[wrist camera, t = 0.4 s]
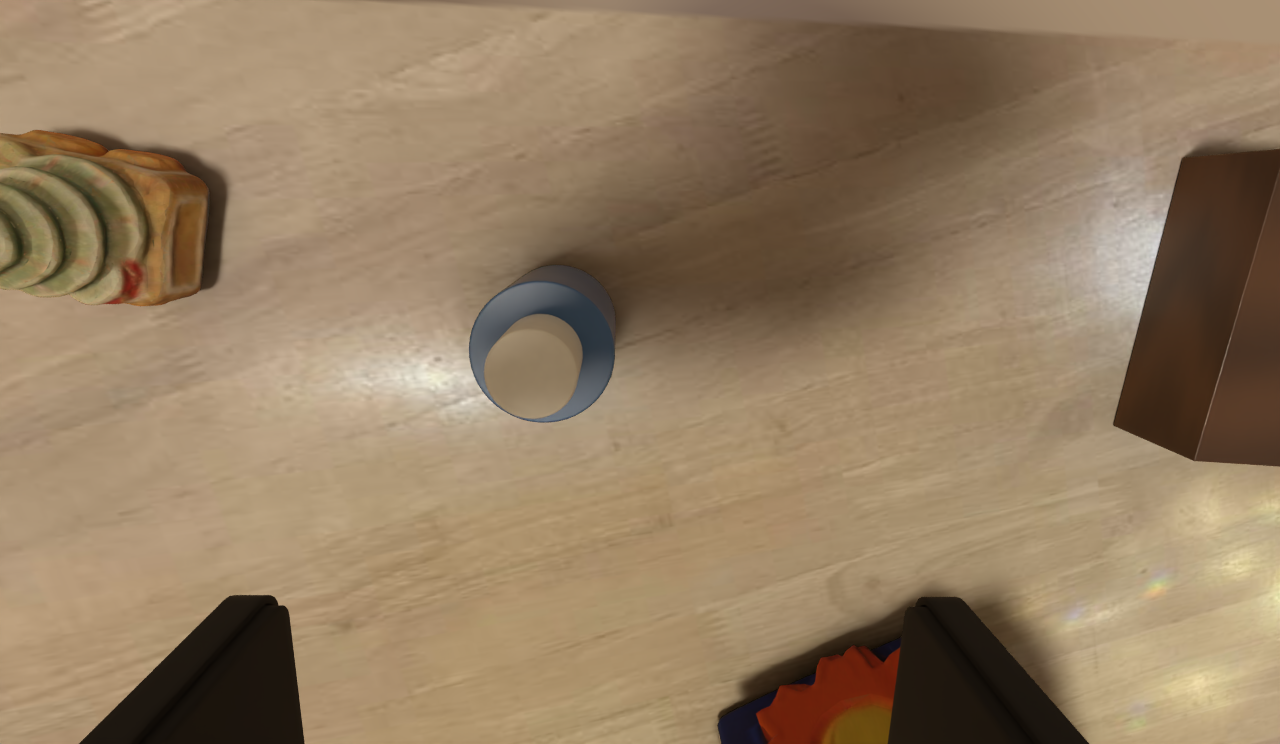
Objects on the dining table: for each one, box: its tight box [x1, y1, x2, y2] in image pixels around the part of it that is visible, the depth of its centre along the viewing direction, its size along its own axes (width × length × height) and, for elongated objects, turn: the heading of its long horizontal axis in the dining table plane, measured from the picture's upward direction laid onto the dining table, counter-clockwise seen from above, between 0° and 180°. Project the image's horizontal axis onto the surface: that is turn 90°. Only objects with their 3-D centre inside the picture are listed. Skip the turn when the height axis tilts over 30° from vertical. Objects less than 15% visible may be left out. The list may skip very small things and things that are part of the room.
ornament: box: [0, 130, 210, 306], centre depth 23 cm, size 8×6×10 cm
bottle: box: [469, 265, 616, 422], centre depth 24 cm, size 5×5×10 cm
